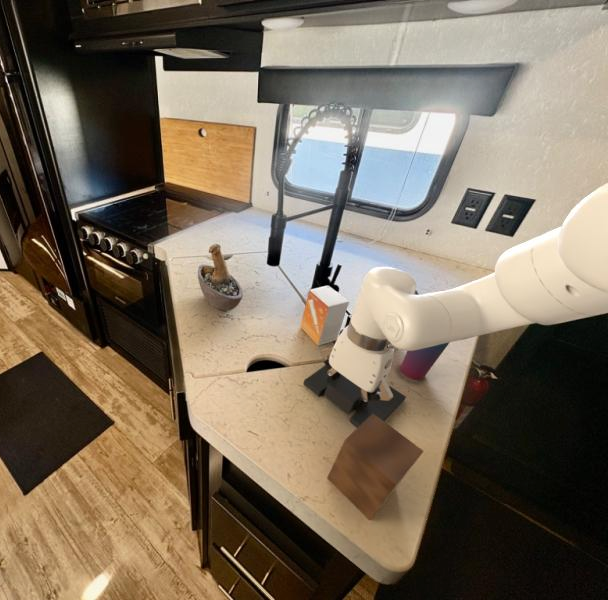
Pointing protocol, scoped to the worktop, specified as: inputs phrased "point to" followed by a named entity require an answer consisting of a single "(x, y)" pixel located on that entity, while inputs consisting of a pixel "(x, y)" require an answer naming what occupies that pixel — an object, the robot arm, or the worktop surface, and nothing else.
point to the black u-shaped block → (379, 408)
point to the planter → (219, 282)
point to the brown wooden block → (372, 464)
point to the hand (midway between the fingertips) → (344, 396)
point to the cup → (421, 361)
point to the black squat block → (343, 393)
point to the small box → (323, 314)
